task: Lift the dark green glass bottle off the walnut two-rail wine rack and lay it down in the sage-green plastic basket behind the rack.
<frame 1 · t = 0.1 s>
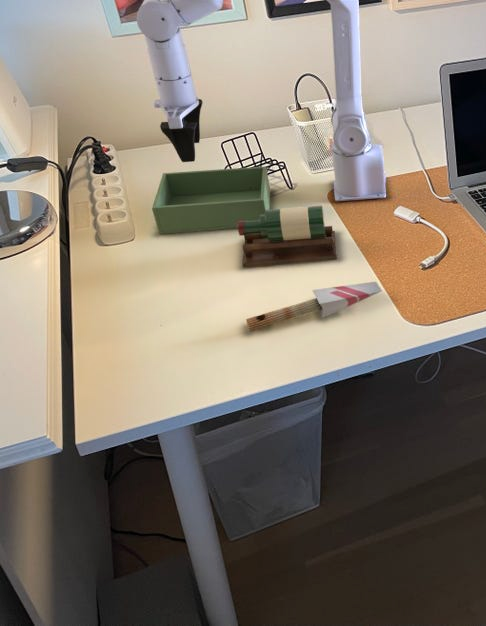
hand: (191, 151, 127), 10 cm above the table, tool pointing down, fingers open, 7 cm apart
bottle: (298, 237, 120), point 2 cm above the table, touching rack
rack: (290, 250, 121), on the table
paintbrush: (316, 312, 108), on the table
basket: (217, 211, 131), on the table
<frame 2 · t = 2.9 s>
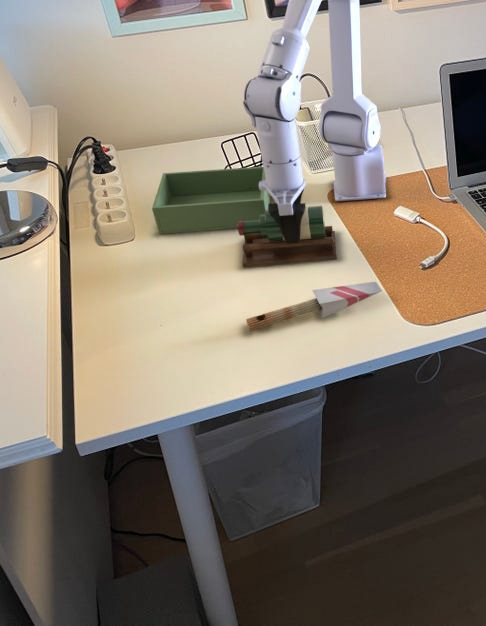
hand: (292, 232, 119), 3 cm above the table, tool pointing down, fingers closed on bottle, 5 cm apart
bottle: (298, 237, 120), point 2 cm above the table, touching gripper, rack
everything else where it was.
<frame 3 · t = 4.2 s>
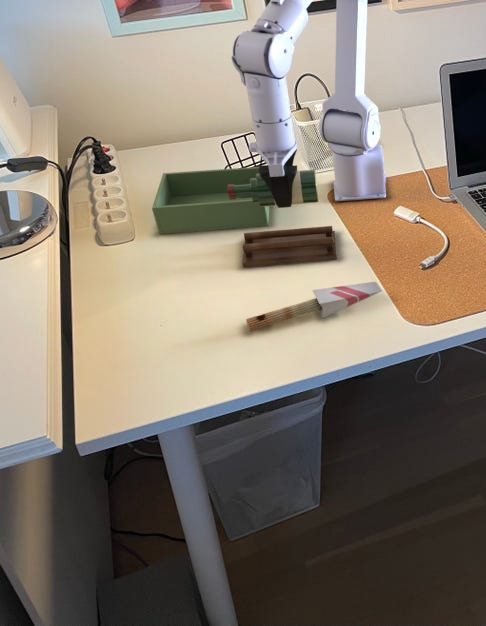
hand: (284, 197, 116), 10 cm above the table, tool pointing down, fingers closed on bottle, 5 cm apart
bottle: (290, 202, 117), point 9 cm above the table, touching gripper
everything else where it was.
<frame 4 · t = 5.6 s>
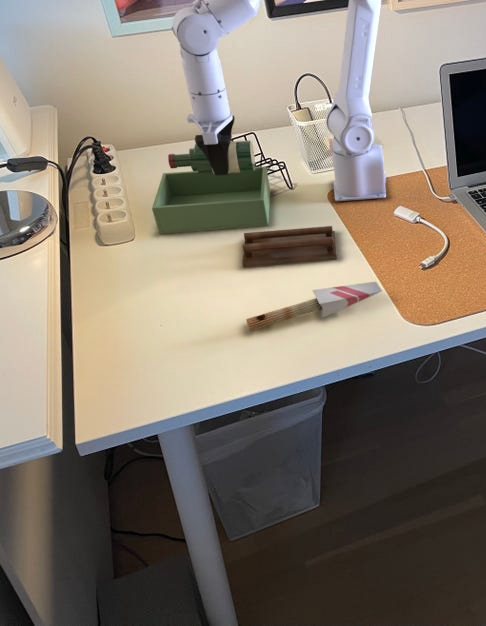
hand: (223, 166, 124), 9 cm above the table, tool pointing down, fingers closed on bottle, 5 cm apart
bottle: (228, 171, 125), point 8 cm above the table, touching gripper
everything else where it was.
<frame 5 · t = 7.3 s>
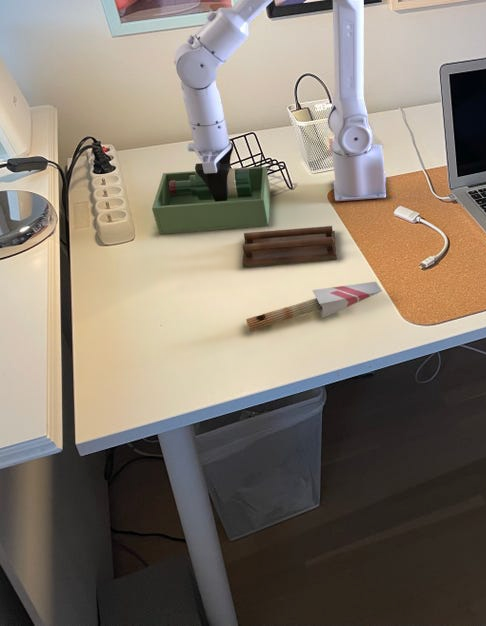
hand: (222, 192, 129), 4 cm above the table, tool pointing down, fingers closed on bottle, 5 cm apart
bottle: (227, 197, 130), point 3 cm above the table, touching gripper
everything else where it was.
when the fingers open (2 cm above the table, at t = 8.6 s): bottle stays where it is, resting on basket.
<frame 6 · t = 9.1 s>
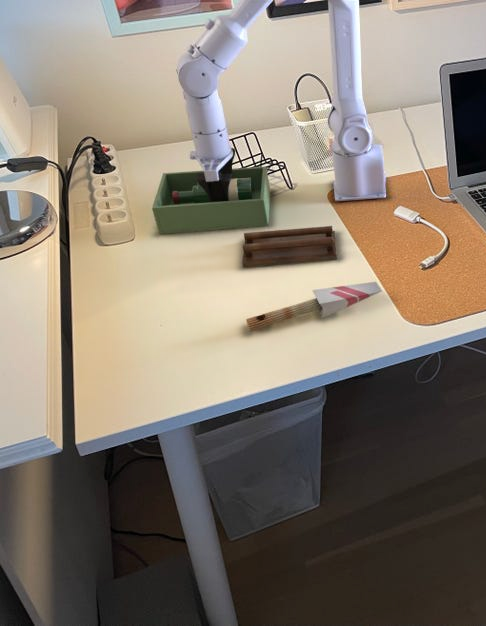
hand: (224, 199, 130), 2 cm above the table, tool pointing down, fingers open, 7 cm apart
bottle: (229, 207, 131), point 1 cm above the table, tilted 6°, touching basket
everything else where it was.
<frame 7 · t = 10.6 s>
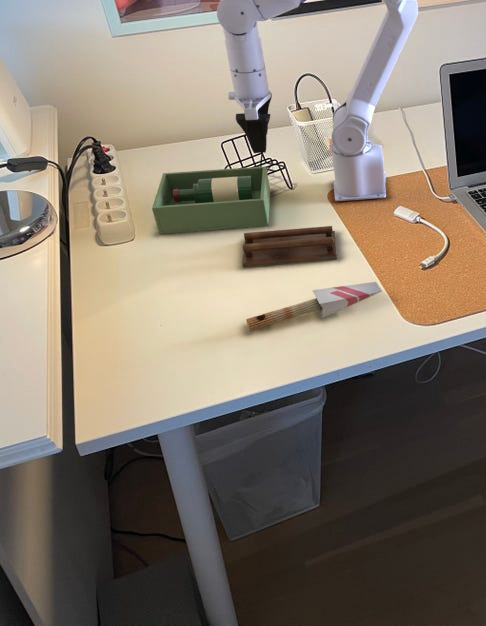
hand: (260, 143, 130), 10 cm above the table, tool pointing down, fingers open, 7 cm apart
bottle: (229, 206, 131), point 1 cm above the table, tilted 22°, touching basket
everything else where it was.
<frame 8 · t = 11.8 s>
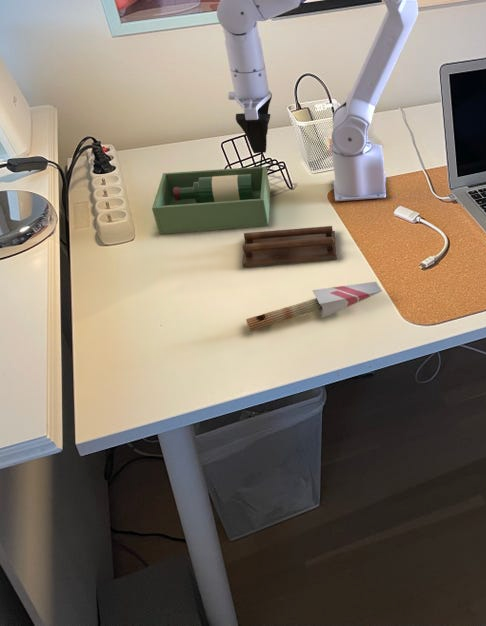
hand: (260, 143, 130), 10 cm above the table, tool pointing down, fingers open, 7 cm apart
bottle: (229, 204, 131), point 1 cm above the table, tilted 37°, touching basket
everything else where it was.
at the end: bottle touching basket; bottle inside the target area in the basket (0.1 cm from its centre), point 1.1 cm above the basket's base; the gripper is holding nothing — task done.
